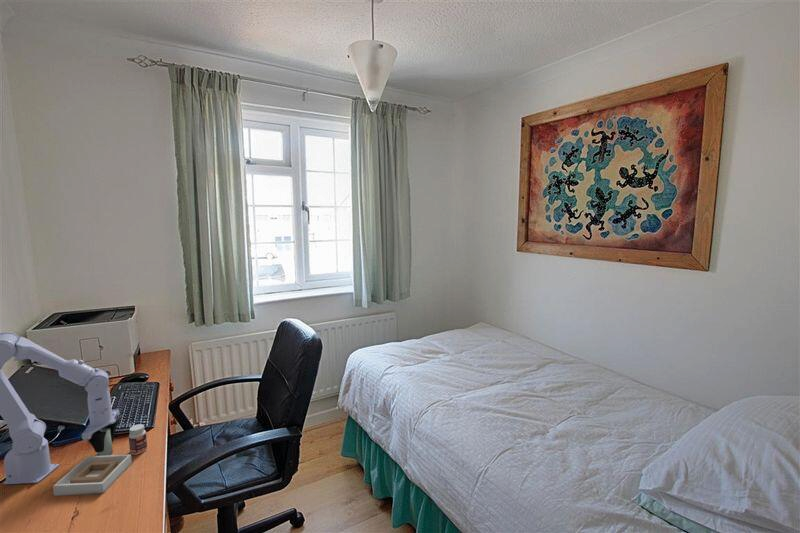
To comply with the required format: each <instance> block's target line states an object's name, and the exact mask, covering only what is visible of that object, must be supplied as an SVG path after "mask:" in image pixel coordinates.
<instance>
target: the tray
mask: <svg viewBox="0 0 800 533" xmlns="http://www.w3.org/2000/svg"><path fill="white" fill-rule="evenodd" d="M132 464H133V462H132V454H131V453H130V454H110V455H106V456H97V455H87V456H86V457H84V458H83V459H81V461H80V462H79V463H78V464H76V465H75V466H74V467H73V468H71V469H70V471H68V472H67V473H66V474H65V475H64V476H62V478H60V479H59V480H58V481H57V482H55V484H53V486H52V488H53V495H54V496H55V497H57V496H75V495H76V496H78V495H95V494H105V492H106V491H107V490H108V489H109V488H110V487H111V486H112V485H113V484H114V483H115V482H116V480H118V479H119V477H120V476H121V475H122V474H123V473H124V472H125V471H126V470H127V469H128V468H129V467H130V466H131V465H132Z"/></svg>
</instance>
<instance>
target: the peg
mask: <svg viewBox="0 0 800 533" xmlns="http://www.w3.org/2000/svg"><path fill="white" fill-rule="evenodd" d="M100 431H101V432H106V435H105V438H104V450H103V451H102V452H96V456H106V455H113V450H114V449H113V442H112V440H111V431H110V428H103V429H100Z"/></svg>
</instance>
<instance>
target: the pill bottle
mask: <svg viewBox="0 0 800 533" xmlns="http://www.w3.org/2000/svg"><path fill="white" fill-rule="evenodd" d="M147 442H148V441H147V431H146V430H145V425H144V424H141V423H138V424H134V425H132V426H130V427H129V435H128V444H129V445H128V446H129V452H130V454H131V455H136V456H137V455H140V454H142V453H145V452H146V451H147V449H148V443H147Z"/></svg>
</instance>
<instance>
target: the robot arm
mask: <svg viewBox="0 0 800 533" xmlns="http://www.w3.org/2000/svg"><path fill="white" fill-rule="evenodd" d="M12 358H14V359H13V361H14V362H15V361H22V360H31V361H33V362H35V363H36V362H37V363H39V364H41V365H44V366H46V367H49V368H52V369H54V370H56V371H58V376H59V377H60V378H63V379H65V380H67V381H69V382H71V383H74V384H76V385H78V386H82V387H84V390H85V391H86V392H87V398H86V400H87V408H88V417H89V424H88V425H87V427H86V428H85V430H84V431H83V433H81V438H82V440H83V441H84V440H85V441H86V440H87V442H89V443H90V444H91V446H92V448H93V450H94V452H95V453H97V452H102V451H103V450H104V438H105V435H106V432H101V431H100V429H103V428H110V431H111V440H112V443H114V438H115V432H116V430H117V427H118V425H119V423H120V419H119V418H116V417H118V416H120V409H118V408H117V409H112V401H111V393H110V387H109V386H110V382H109V375H108V373H107V372H106V371H105V370H104V369H102V368H98V367H95V368H94V367H91V365H87V364H86V363H84V362H85V361H84V360H83V359H78V360H77V359H75V358H72V359H64V358H63V357H61V356H59V355H57V354H55V353H54V352H51V351H50V350H48V349H46V348H45V347H42V346H41V345H38V344H36V343H35V342H33V341H31V340H30V339H28V338H27V337H23V336H19V335H17V333H14V332H7V331H4V332H0V416H1V418H2V419H3V421H4V423H5V424H6V425H7V427H8V431H9V432H8V433H9V437H10V438H11V441H12V448H11V449H9V450H8V451H7V453H6V455H5V456H4V459H3V467H4V474H5V481H4V482H3V485H18V484H37V483H38V484H39V483H40V482H41V481H42V480H43V479H44V478H46V477H47V476H48V475H49V474H50V473H53V471H54V470H55V469H57V468H58V467H59V466H60V463H52V462H51V457H50V448H49V441H48V439H46V438H45V437H44V436H45V432H46V430H47V425H46V423H45V422H44V421H42V420H40V419H38V418H37V417H36V415H35V414H34V413H31V412H30V411H29V410H28V407H27V406H26V405H25V403H24V402H23V400H22V399H21V397H20V396H19V394H18V393H17V391H16V390H15V388H14V386H13V385H12V384H11V382H10V380H9V379H8V377H7V376H6V374H5V372H4V371H3V370H2V369H3V368H4V366H5V364H6V363H7V362H9V361H10V360H11V359H12Z"/></svg>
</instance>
